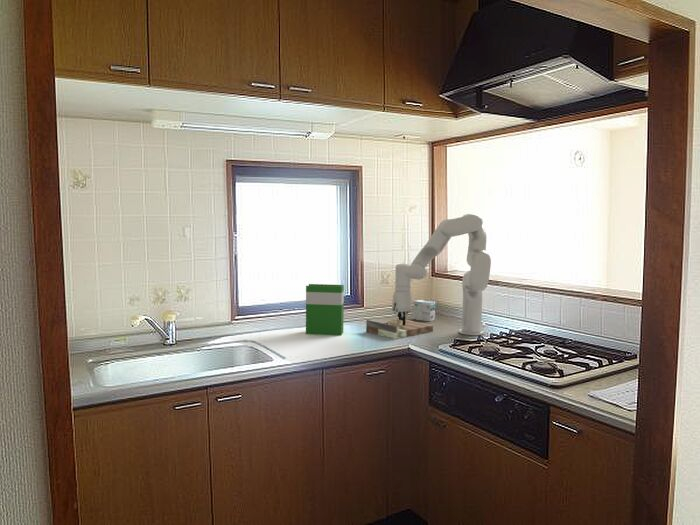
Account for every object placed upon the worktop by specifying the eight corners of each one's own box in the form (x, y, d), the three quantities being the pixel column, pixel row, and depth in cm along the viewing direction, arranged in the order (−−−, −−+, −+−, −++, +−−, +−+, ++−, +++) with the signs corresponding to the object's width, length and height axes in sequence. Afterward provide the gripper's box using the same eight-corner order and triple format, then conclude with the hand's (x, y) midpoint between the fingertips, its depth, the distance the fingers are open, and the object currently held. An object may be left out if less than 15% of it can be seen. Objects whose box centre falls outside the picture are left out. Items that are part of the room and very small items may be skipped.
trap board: (404, 324, 281) (404, 313, 281) (432, 331, 266) (433, 319, 266) (366, 331, 263) (366, 320, 262) (394, 339, 248) (395, 326, 248)
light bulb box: (435, 319, 297) (435, 301, 296) (430, 321, 291) (430, 302, 290) (418, 317, 302) (418, 299, 302) (413, 319, 297) (413, 300, 296)
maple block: (395, 326, 262) (395, 318, 261) (402, 328, 258) (402, 320, 258) (388, 328, 258) (388, 320, 258) (395, 329, 255) (395, 321, 254)
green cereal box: (305, 334, 257) (306, 285, 255) (308, 330, 264) (309, 284, 262) (341, 335, 255) (341, 286, 253) (343, 332, 262) (343, 284, 260)
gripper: (407, 286, 267) (406, 322, 269) (386, 289, 257) (386, 325, 259) (418, 288, 262) (417, 324, 263) (397, 290, 252) (397, 328, 253)
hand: (402, 325), depth 261 cm, fingers closed
